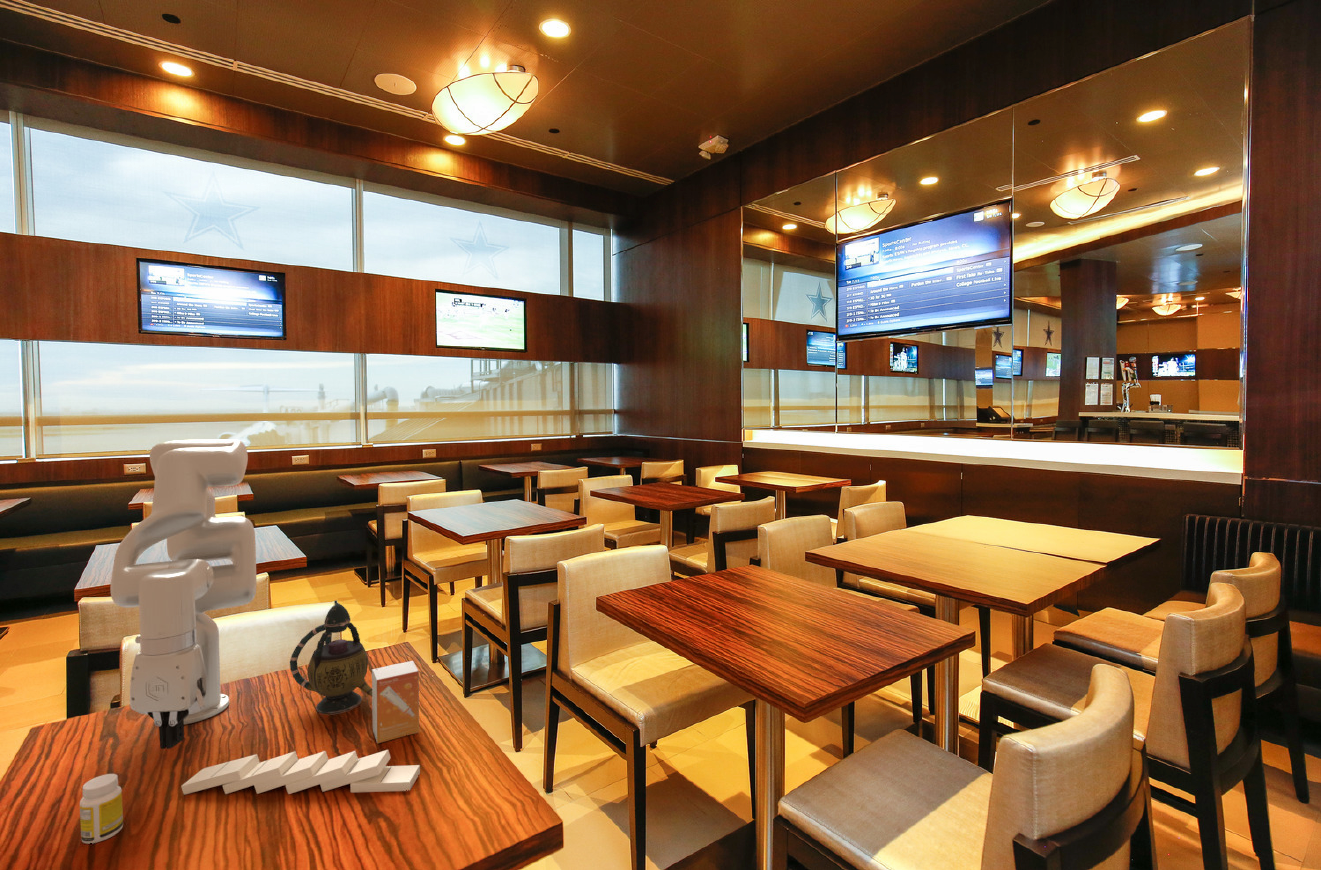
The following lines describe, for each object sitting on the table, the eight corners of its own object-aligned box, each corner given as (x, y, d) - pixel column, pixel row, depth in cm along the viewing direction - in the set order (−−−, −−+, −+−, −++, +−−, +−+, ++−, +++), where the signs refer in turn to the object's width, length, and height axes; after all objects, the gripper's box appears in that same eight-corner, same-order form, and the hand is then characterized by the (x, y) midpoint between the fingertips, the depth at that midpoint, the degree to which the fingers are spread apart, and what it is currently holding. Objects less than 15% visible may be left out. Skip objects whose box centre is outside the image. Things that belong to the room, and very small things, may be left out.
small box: (376, 744, 117) (375, 680, 117) (372, 730, 122) (371, 668, 122) (420, 732, 121) (419, 670, 121) (413, 719, 127) (413, 659, 126)
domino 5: (319, 783, 102) (376, 765, 103) (333, 766, 107) (388, 749, 108) (322, 791, 102) (379, 774, 103) (336, 774, 107) (390, 757, 108)
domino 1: (181, 785, 102) (238, 770, 102) (202, 768, 107) (257, 753, 107) (183, 794, 102) (240, 779, 102) (205, 777, 107) (259, 762, 107)
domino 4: (285, 785, 102) (341, 767, 102) (301, 768, 107) (355, 750, 107) (288, 794, 102) (344, 775, 102) (304, 776, 107) (358, 759, 107)
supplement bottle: (127, 819, 95) (126, 768, 95) (117, 838, 91) (115, 785, 91) (88, 829, 93) (86, 777, 93) (75, 848, 89) (73, 794, 89)
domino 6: (350, 784, 102) (409, 781, 103) (363, 766, 107) (419, 764, 108) (350, 793, 102) (409, 791, 103) (363, 775, 107) (419, 773, 108)
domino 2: (222, 785, 102) (278, 767, 102) (242, 768, 107) (295, 751, 107) (225, 794, 102) (281, 776, 102) (245, 776, 107) (298, 759, 107)
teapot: (333, 686, 142) (331, 591, 141) (415, 704, 133) (413, 602, 133) (285, 710, 131) (283, 606, 130) (372, 731, 122) (370, 619, 121)
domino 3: (254, 785, 102) (310, 767, 102) (272, 767, 107) (325, 750, 107) (257, 793, 102) (313, 775, 102) (275, 776, 107) (328, 759, 107)
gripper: (105, 651, 99) (109, 757, 100) (197, 649, 100) (200, 756, 101) (142, 634, 107) (145, 733, 107) (227, 633, 107) (230, 732, 108)
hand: (172, 744), depth 104 cm, fingers closed
